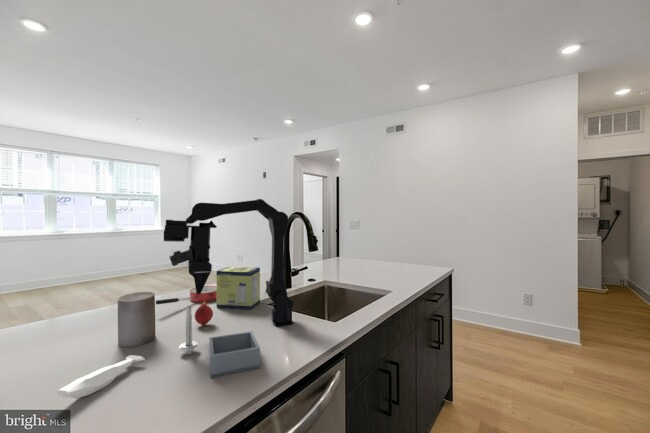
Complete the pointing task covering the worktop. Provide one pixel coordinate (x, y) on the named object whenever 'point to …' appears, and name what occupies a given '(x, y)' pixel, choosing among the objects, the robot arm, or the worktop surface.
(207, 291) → the frying pan
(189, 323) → the screw
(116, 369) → the white fish figurine
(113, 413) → the worktop surface
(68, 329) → the worktop surface
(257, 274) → the protein box
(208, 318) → the pomegranate
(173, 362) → the worktop surface
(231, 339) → the tote
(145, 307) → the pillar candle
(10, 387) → the worktop surface
